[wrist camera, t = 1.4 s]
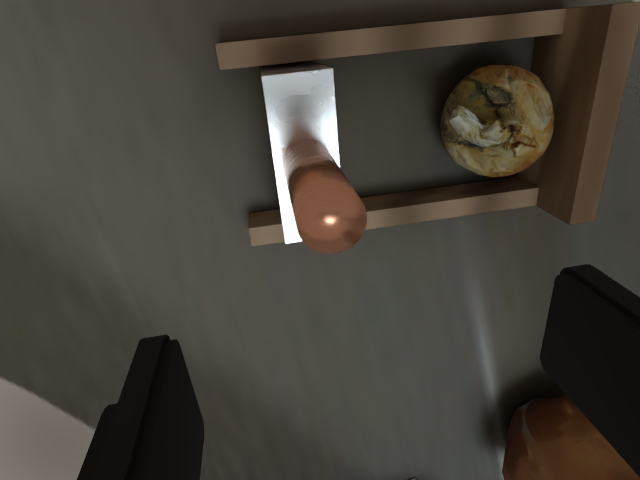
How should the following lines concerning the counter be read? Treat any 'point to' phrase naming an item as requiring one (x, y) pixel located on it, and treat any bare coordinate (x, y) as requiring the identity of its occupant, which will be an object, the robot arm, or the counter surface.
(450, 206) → the press frame
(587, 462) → the butternut squash
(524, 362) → the counter surface
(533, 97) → the onion
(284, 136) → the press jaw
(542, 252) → the counter surface
